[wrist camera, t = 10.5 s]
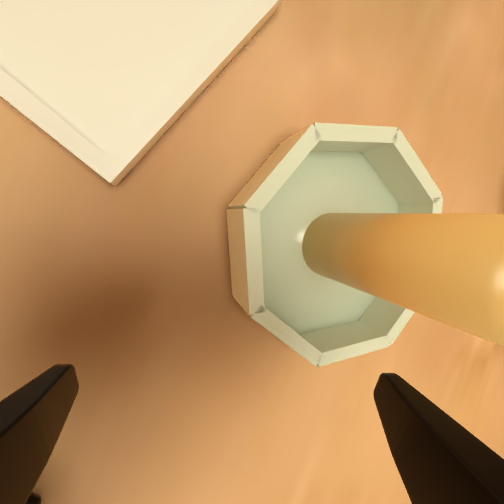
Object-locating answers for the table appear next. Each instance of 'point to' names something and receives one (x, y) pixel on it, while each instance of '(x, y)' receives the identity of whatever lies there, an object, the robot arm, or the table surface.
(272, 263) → the sage bowl
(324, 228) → the orange tapered cylinder
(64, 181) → the table surface
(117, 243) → the table surface
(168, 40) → the parts tray
